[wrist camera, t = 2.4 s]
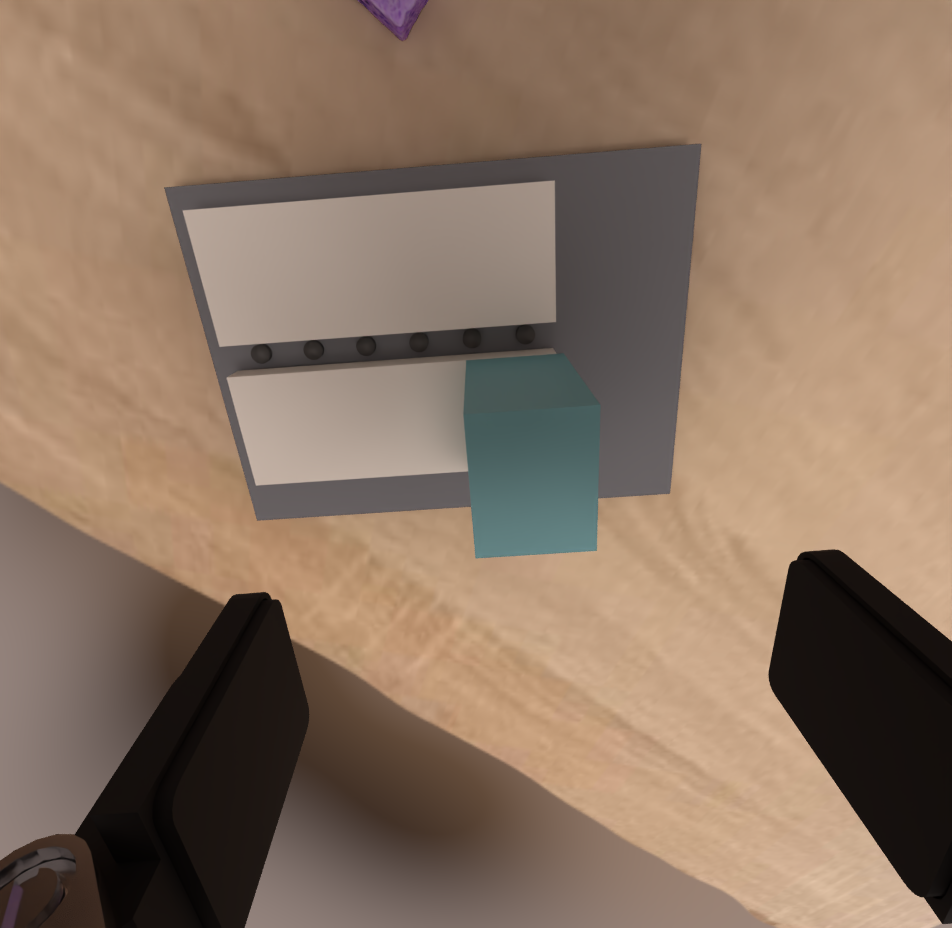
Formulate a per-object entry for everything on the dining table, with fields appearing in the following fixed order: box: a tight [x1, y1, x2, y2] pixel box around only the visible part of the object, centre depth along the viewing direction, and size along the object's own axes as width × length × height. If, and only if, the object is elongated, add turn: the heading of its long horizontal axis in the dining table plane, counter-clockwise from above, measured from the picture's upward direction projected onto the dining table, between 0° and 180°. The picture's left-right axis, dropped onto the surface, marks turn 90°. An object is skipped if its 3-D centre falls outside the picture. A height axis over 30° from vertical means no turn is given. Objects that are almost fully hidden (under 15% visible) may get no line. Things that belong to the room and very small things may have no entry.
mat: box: [164, 144, 701, 521], centre depth 21 cm, size 18×13×1 cm
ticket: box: [183, 180, 556, 364], centre depth 18 cm, size 12×5×1 cm, turn 94°
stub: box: [227, 348, 601, 558], centre depth 18 cm, size 12×4×7 cm, turn 94°
